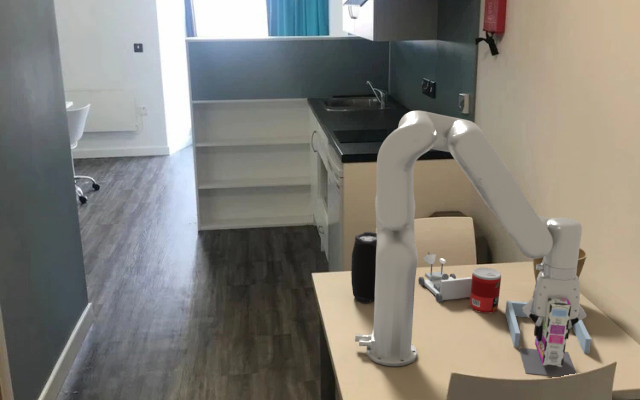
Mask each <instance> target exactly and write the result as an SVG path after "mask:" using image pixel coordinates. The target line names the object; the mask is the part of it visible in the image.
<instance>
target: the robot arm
mask: <svg viewBox="0 0 640 400" xmlns="http://www.w3.org/2000/svg"><path fill="white" fill-rule="evenodd" d="M398 122H399V123H398V127H397V128H396V129H394V130H393V131H392V132H391V133H390V134H389V135H388V136H387V137H386V138H385V139H384V140H383V142H382V144H381V146H380V148H379V149H378V153H377V160H376V195H375V199H374V200H375V201H374V203H375V205H374V207H375V208H374V209H375V227H376V228H375V229H376V233H377V247H376V276H375V300H374V310H373V328H372V329H373V330H372V332H371V333H368V334H362V333H359V334H358V333H355V337H354V338H355V339H354V341H355V342H357V343H358V346H359V347H366V349H365V351H366V352H365V353H366V355H367V357H368V358H369V359H370V360H371V361H373V362H375V363H377V364H379V365H382V366H387V367H401V366H402V367H403V366H406V365H409V364H411V363H413V362H414V361H415V360H416V359H417V356H418V349H417V348H416V346H415V345H414V344H412V339H413V323H414V307H415V306H414V305H415V288H416V287H415V285H416V276H417V268H418V250H417V244H416V239H415V237H416V236H415V213H416V201H415V199H416V198H415V195H414V192H415V191H414V179H415V178H414V177H415V176H414V172H415V163H416V162H417V160H419V158H420V157H421V156H423V155H425V154H426V153H427V152H428V151H431V150H437V151H442V152H447V153H450V154H451V156H452V157H453V159H454V161H456V163H457V165H459V166H458V167H460V169H461V171H462V172H463V173H464V175H465V176H466V177H467V179H468V180H469V182H471V185H472V186H473V187H474V189H475V190H476V192H477V193H478V194H479V196H480V197H481V199H482V200H483V202H484V203H485V205H486V206H487V207H488V208H489V209H490V210H491V212H492V213H493V214H494V215H495V217H496V218H497V219H498V221H499V223H500V224H501V225H502V226H503V228H504V230H505V231H506V233H507V234H508V235H509V237H510V238H511V239H512V241H513V242H514V244H515V245H516V247H517V248H518V250H519V252H521V254H523V255H524V256H526V257H527V258H530V259H532V260H533V259H539V258H542V257H544V259H543V261H542V263H541V264H536V270H541V272H539V275H538V277H537V281H535V284H534V285H535V286H534V289H533V294H532V298H531V299H530V300H529V301H528V303H527V304H526V305H525V306H524V307H523V308H522V311H523V312H524V313H525V314H526V315H527V316H528V317H527V318H529V319H530V320H531V321H532V322H533V323H534V329H533V330H534V332H533V336H534V337H535V338H536V337H537V340H538V341H541V338H542V330H543V327H542V321H543V319H544V317H546V312H547V304H548V299H549V298H551V299H564V300H569V301H570V303H571V312H570V319H569V326H568V332H567V339H566V340H569V337H570V336H569V335H570V331H571V330H570V329H573V327H572V326H573V325H574V324H576V323H577V322H578V321H579V320H583V319H584V318H586V317H587V313H586V311H585V310H584V308H583V307H582V306H581V304H580V302H581V300H580V299H581V297H580V295H581V287H580V285H581V282H580V281H581V280H580V277H579V278H578V277H577V276H576V271H577V264H578V256H579V249H580V248H581V241H582V233H583V226H582V224H581V223H580V222H579V221H578V220H576V219H573V218H570V217H564V216H563V217H547V216H541V215H538V214H537V211H535V209H534V208H533V206H532V205H531V204H530V202H529V200H528V199H527V197H526V195H525V193H524V192H523V189H521V187H520V184H519V183H518V181H517V180H516V178H515V177H514V175H513V174H512V172H511V170H510V169H509V167H508V166H507V165H506V163H505V162H504V160H503V159H502V157H501V156H500V155H499V153H498V151H496V149H495V147H494V146H493V144H492V143H491V142H490V141H489V139H488V137H487V136H486V134H485V133H484V131H482V129H481V128H480V127H479V126H478V124H476V123H475V122H473V121H472V120H468V119H463V118H459V117H454V116H449V115H444V114H438V113H434V112H429V111H425V110H412V111H409V112H407V113H405V114H404V115H403V116H402V117H401V119H400V120H399V121H398ZM532 308H533V311H534V313H535V314H534V313H533V312H531V309H532Z"/></svg>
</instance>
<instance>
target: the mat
mask: <svg viewBox="0 0 640 400" xmlns="http://www.w3.org/2000/svg"><path fill="white" fill-rule="evenodd" d="M518 350H519V355H520V357H521V361H522V364H523V368H524V371H525V374H528V375H538V376H547V377H558V376H564V375H569V374H575V373H577V370H576V368H575V366H574V363H573V360H572V358H571V356H570V354H569V352H568V351H565V354H564V361H563V367H552V366H543V365H542V362H541V359H540V356H539V353H538V351H537V348H528V347H527V348H526V347H518Z"/></svg>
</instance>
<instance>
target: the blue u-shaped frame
mask: <svg viewBox="0 0 640 400" xmlns="http://www.w3.org/2000/svg"><path fill="white" fill-rule="evenodd" d="M528 302H529V301H528ZM528 302H527V301H517V300H514V301H513V300H506V304H505V305H506V306H505V317H506V322H507V325H508V330H509V333H510V338H511V340H512V344H513V347H514V348H520V340H521V339H520V338H521V331H520V327H519V324H518V321H517V317H520V318H521V317H522V318H529V317H528V316H527V315H526V314H525V313H524V312H523V311H522V308H523V307H524V306H525V305H526V304H527V303H528ZM531 312H533V313H534V311H533V308H532V309H531ZM534 314H535V313H534ZM572 329H573V332H574V334H575V337H576V339H577V340H578V343H579V345H580V348H581V349H582V351H583V353H584V354H590V350H591V342H592V338H591V336H590V334H589V332H588V330H587V328H586V326H585V324H584V321H583V319H581V320H579V321H578V322H577V323H576V324H574V325H573V326H572Z"/></svg>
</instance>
